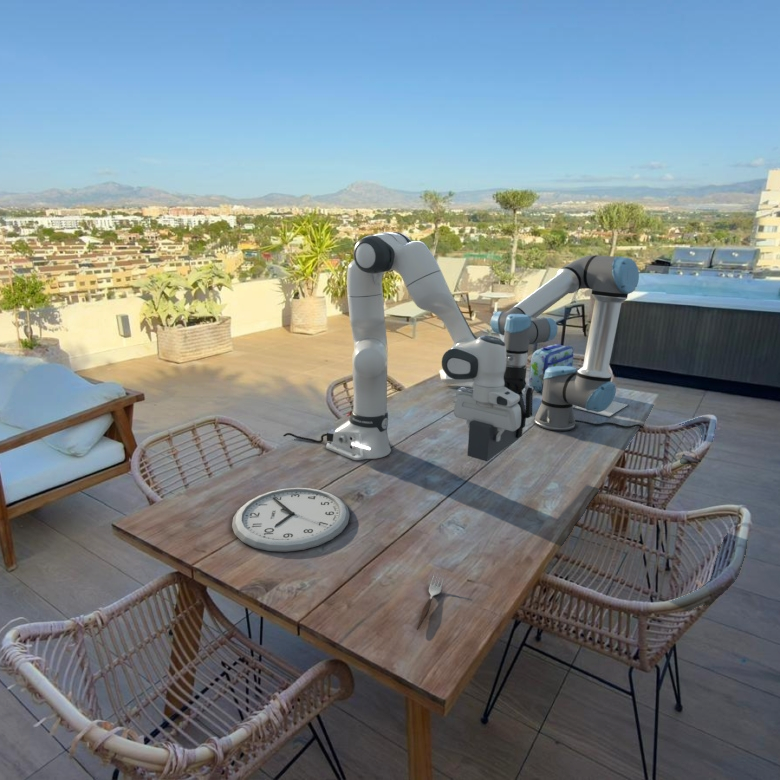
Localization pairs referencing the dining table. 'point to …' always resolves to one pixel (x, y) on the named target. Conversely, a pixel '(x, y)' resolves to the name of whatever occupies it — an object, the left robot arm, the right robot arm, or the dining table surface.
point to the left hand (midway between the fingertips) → (484, 437)
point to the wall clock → (290, 519)
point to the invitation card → (608, 409)
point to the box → (487, 440)
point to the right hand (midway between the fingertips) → (508, 433)
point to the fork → (433, 591)
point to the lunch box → (548, 362)
